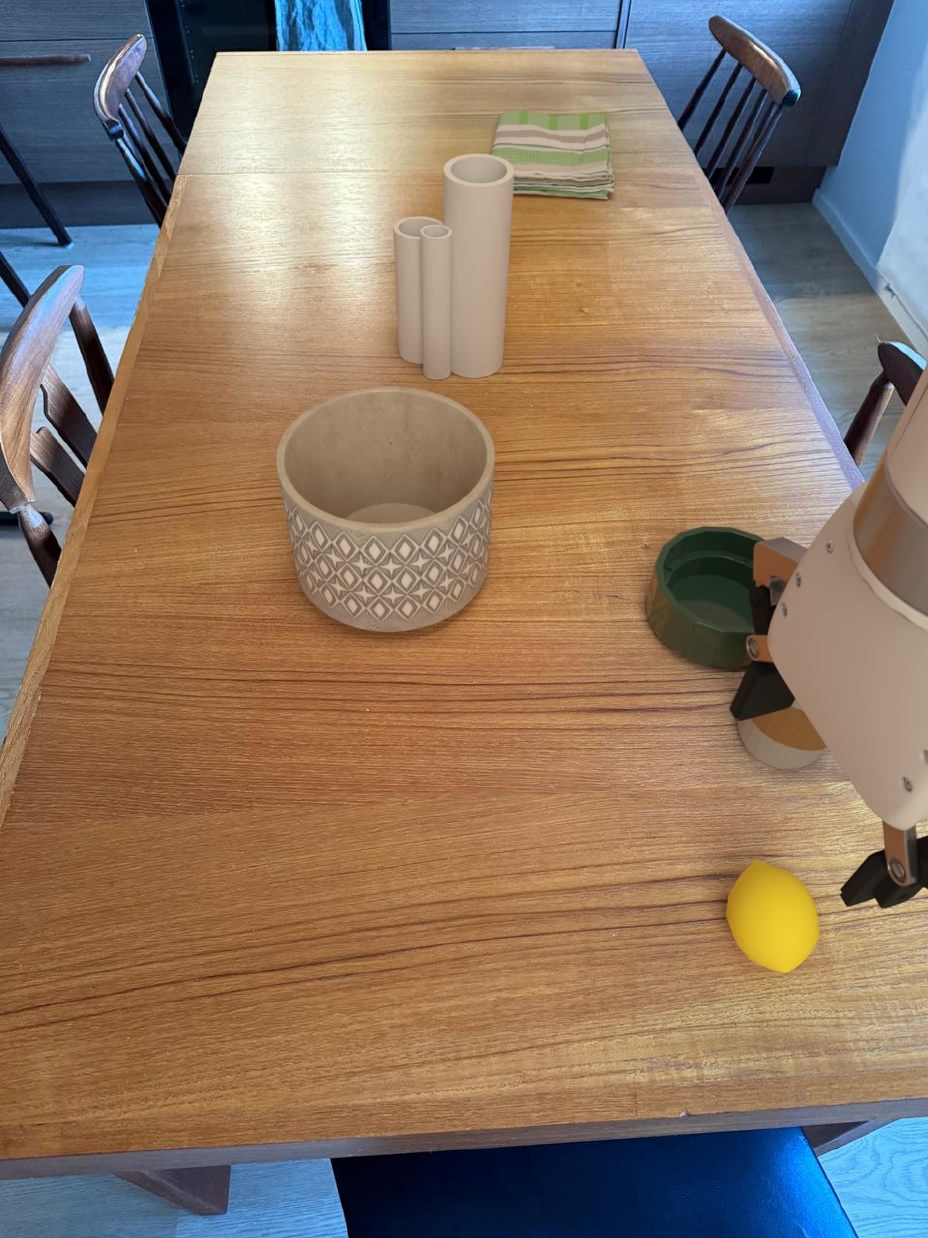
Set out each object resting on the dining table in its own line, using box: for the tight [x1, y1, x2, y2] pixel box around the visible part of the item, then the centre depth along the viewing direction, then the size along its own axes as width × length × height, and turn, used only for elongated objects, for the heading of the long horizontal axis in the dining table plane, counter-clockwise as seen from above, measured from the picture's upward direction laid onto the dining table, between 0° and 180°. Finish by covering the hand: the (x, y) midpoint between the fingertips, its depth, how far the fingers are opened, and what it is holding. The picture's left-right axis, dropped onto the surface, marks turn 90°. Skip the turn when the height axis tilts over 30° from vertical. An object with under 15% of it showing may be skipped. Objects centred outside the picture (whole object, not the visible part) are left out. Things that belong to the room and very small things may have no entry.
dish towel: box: [490, 110, 616, 200], centre depth 126 cm, size 17×23×4 cm
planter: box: [275, 385, 496, 633], centre depth 72 cm, size 16×16×13 cm
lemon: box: [725, 859, 821, 974], centre depth 55 cm, size 7×5×5 cm
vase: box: [392, 153, 514, 381], centre depth 88 cm, size 11×7×20 cm, turn 89°
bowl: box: [645, 525, 766, 669], centre depth 72 cm, size 11×11×5 cm
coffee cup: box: [737, 699, 828, 770], centre depth 61 cm, size 8×8×15 cm
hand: (811, 794), depth 41 cm, fingers open, 9 cm apart
